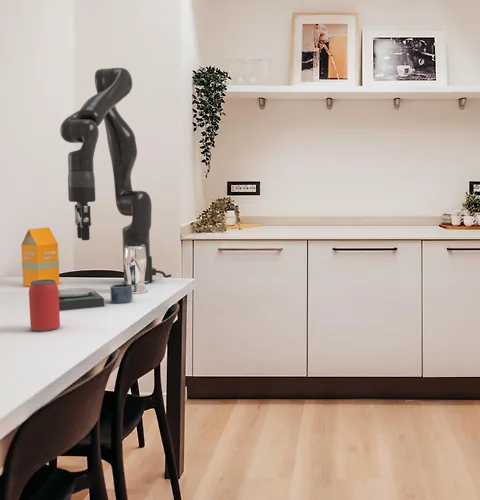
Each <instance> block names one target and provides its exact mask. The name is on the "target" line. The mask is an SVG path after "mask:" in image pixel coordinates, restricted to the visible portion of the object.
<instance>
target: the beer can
mask: <svg viewBox="0 0 480 500" xmlns="http://www.w3.org/2000/svg"><path fill="white" fill-rule="evenodd" d="M55 282H56V281H55V280H50V279H46V280H35V281H32V282H31V285H30V286H29V288H28V300H29V301H28V302H29V320H30V329H31V330H32V331H34V332H50V331H53V330H56V329H59V327H61V319H60V318H61V317H60V311H59V293H58V290H59V286H58V284H56V283H55Z"/></svg>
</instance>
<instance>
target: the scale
mask: <svg viewBox="0 0 480 500" xmlns="http://www.w3.org/2000/svg"><path fill="white" fill-rule="evenodd" d="M100 307H105V297H103V296H102V295H100V294H99V293H98V292H97V291H95V293H94V294H91V295H87V296H80V297H59V312H61V311H69V310H70V311H71V310H79V309H92V308H100Z"/></svg>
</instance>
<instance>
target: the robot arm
mask: <svg viewBox="0 0 480 500" xmlns="http://www.w3.org/2000/svg"><path fill="white" fill-rule="evenodd" d="M94 85H95V90H96V94H94V95H92V96H91V97H89V98H88V99H87V100H86V101H85V102H84V103H83V105H82V106H81V107H80V109H79V110H77V111H75V112H74V113H72V114H71V115H69V116H67V117H66V118H65V119H64V120H63V122H62V123H61V125H60V129H59V133H60V136H61V138H62V139H63V141H64V142H66V143H69V144H81V147H80V148H79V149H77V150H72V151H70V152H68V154H67V166H68V167H67V168H68V169H67V171H68V172H67V191H68V194H67V195H68V197H67V198H68V202H71V203H76V204H74V219H75V221H74V222H75V225H76V232H77V233H76V235H77V238H78V239H81V241H89V240H90V239H91V237H90V235H91V234H90V228H91V225H92V221H91V220H92V217H91V205H89V204H88V203H94V202H96V178H95V172H94V170H95V169H94V168H95V167H94V156H95V152H96V146H97V144H98V143H97V142H98V140H99V136H100V135H99V134H100V132H99V131H100V129H99V126H100V125H101V124H102V122H104V125H105V126H104V127H105V132H106V141H107V148H108V151H109V156H110V160H111V167H112V174H113V183H114V184H113V185H114V196H115V197H114V198H115V205H116V209H117V211H118V213H119V214H121V215H122V216H124V217H131V222H130V223H129V224H128V225H126V226H124V227H122V230H121V232H122V233H121V235H122V263H123V284H128V280H127V274H126V270H125V264H124V250H125V247H129V246H144V247H145V249H146V271H145V278H144V282H145V284H149V283H153V276H157V274H161V275H162V276H163V278H171V277H172V274H166V273H165V272H164V271H163V270H157V268H155V267H153V257H152V256H151V244H150V241H151V240H150V239H151V238H150V230H151V228H152V214H153V213H152V211H153V209H152V199H151V196H150V195H149V193H148V192H147V191H145V190H133V187H132V171H133V169H134V166H135V163H136V160H137V157H138V148H137V147H138V146H137V141H136V135H135V133H134V130H133V129H132V128H131V126H130V125H129V124H128V123H127V122H126V120H125V119H124V118H123V117H122V115H121V114H120V113H119V111H118V109H117V107H116V105H117V104H119V103H120V102H121V101H122V100H123V99H124V98H126V97H127V96H128V95H129V94H130V93H131V92H132V89H133V78H132V75H131V73H130V71H129V70H128V69H127V68H125V67H108V68H107V67H106V68H99V69H97V70H96V71H95V72H94Z"/></svg>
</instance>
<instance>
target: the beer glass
mask: <svg viewBox="0 0 480 500" xmlns="http://www.w3.org/2000/svg"><path fill="white" fill-rule="evenodd" d="M124 264H125V270H126V274H127V280H128V284H131V285H132V293H133V294H142V293H146V292H147V288H146V283H145V282H144V278H145V271H146V249H145V247H144V246H129V247H125V250H124Z"/></svg>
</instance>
